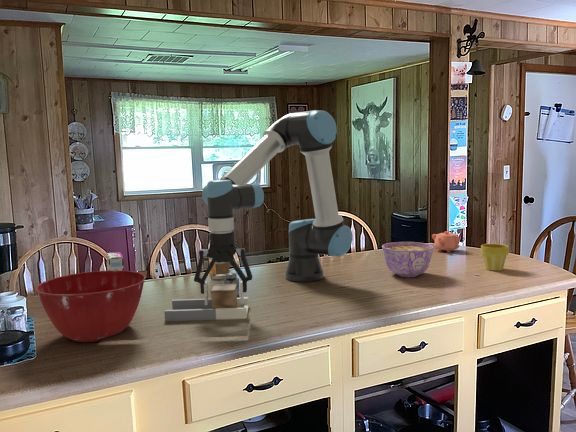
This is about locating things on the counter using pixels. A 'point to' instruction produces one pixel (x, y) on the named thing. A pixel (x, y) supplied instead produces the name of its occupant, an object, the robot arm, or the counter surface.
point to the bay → (204, 310)
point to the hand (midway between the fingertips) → (224, 303)
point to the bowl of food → (407, 257)
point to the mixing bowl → (92, 303)
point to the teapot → (446, 241)
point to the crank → (228, 275)
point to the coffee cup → (219, 271)
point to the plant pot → (494, 256)
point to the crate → (224, 296)
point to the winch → (235, 281)
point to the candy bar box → (115, 261)
